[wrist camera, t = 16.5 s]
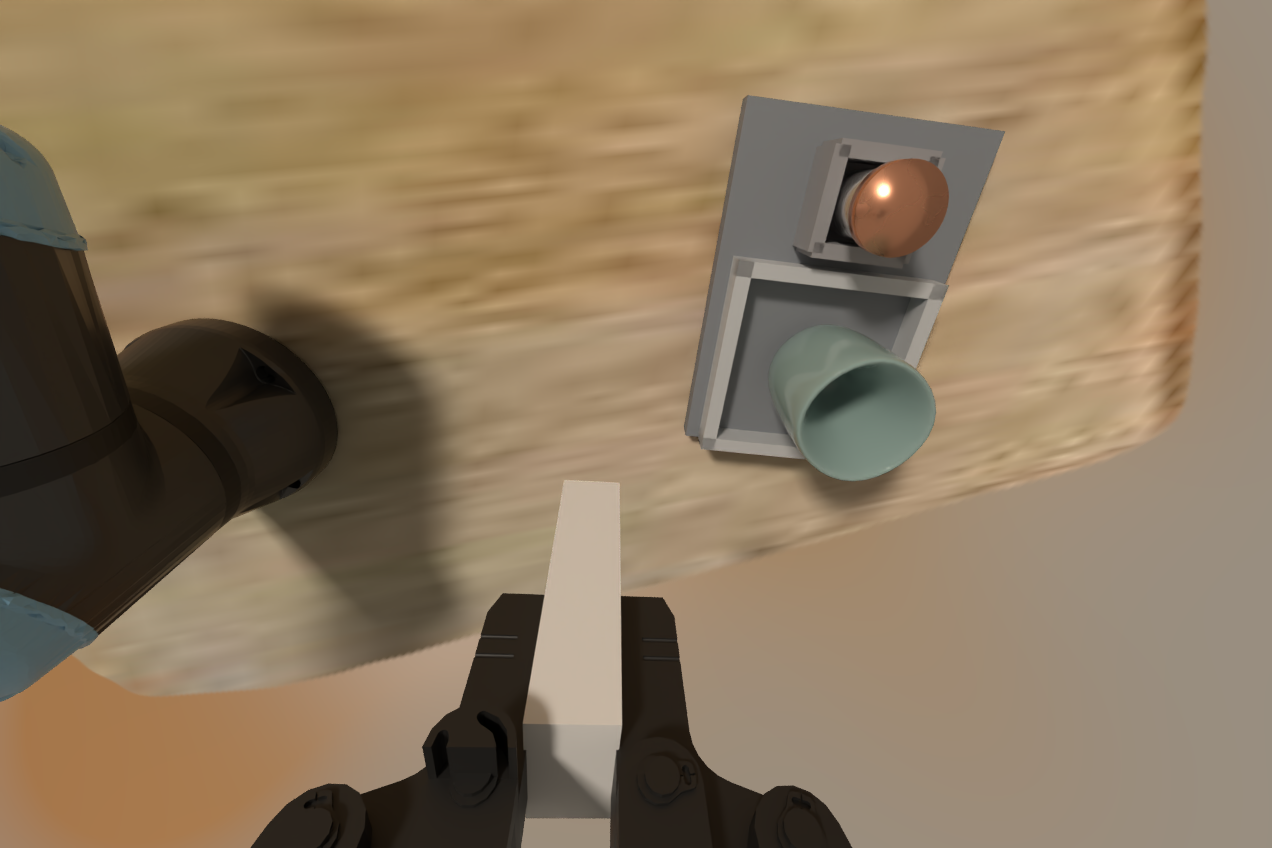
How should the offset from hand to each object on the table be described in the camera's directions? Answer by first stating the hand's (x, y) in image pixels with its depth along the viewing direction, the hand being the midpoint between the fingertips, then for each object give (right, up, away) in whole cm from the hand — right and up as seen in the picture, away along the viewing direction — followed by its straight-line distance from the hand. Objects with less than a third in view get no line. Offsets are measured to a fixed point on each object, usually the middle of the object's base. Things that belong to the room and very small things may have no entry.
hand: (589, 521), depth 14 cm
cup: (+14, +7, +23) cm, 28 cm away
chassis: (+15, +12, +22) cm, 29 cm away
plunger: (+15, +17, +17) cm, 29 cm away
